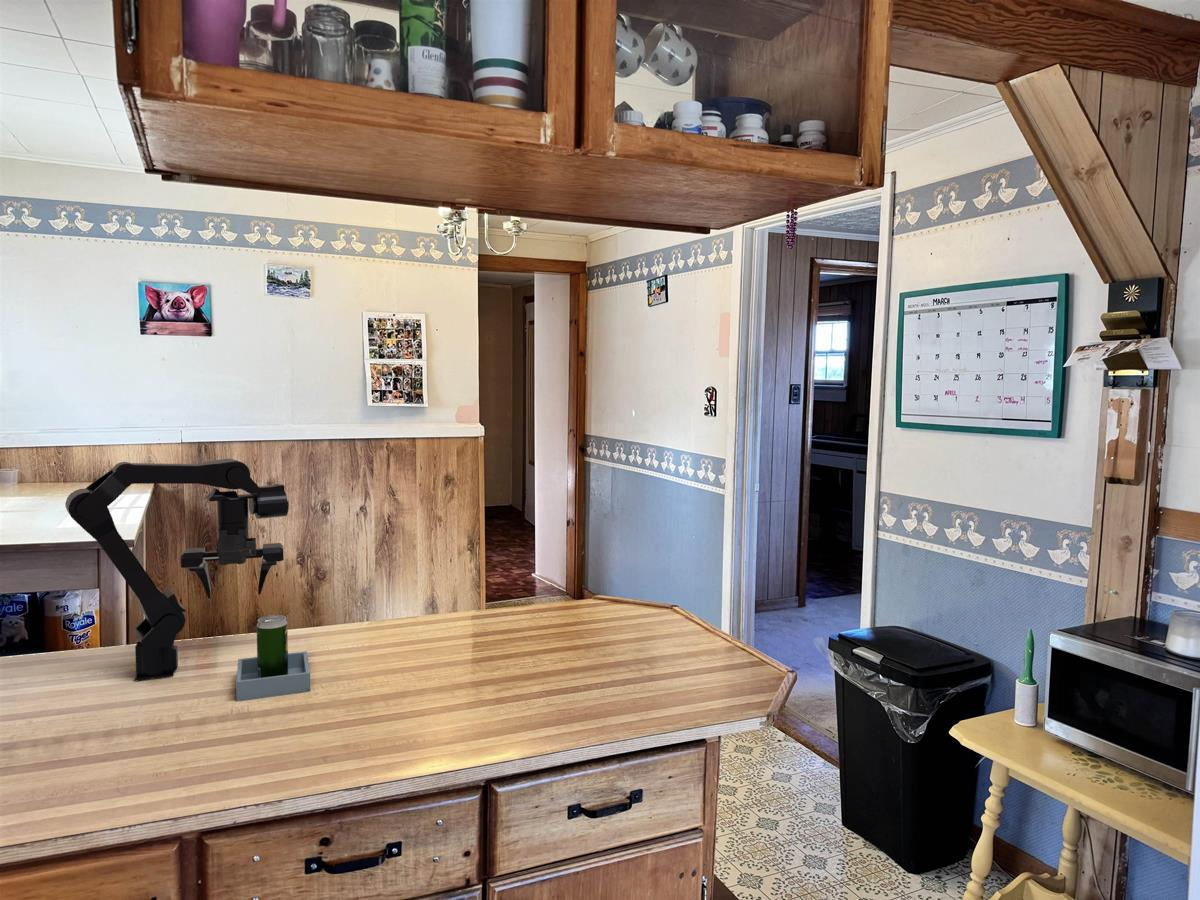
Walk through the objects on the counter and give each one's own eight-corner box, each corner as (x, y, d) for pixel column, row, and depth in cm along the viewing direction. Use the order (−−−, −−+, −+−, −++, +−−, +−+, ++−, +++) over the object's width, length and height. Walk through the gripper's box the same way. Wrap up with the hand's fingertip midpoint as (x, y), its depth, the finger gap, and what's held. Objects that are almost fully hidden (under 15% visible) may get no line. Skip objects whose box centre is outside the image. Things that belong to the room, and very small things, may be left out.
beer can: (264, 688, 143) (263, 625, 142) (253, 680, 146) (251, 618, 145) (293, 681, 146) (292, 619, 145) (281, 673, 150) (280, 612, 149)
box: (236, 701, 138) (236, 682, 138) (238, 676, 150) (238, 659, 149) (310, 691, 143) (310, 673, 143) (307, 668, 155) (306, 651, 154)
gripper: (176, 531, 146) (179, 611, 147) (283, 525, 153) (284, 602, 155) (182, 520, 156) (184, 596, 158) (282, 516, 163) (283, 588, 165)
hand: (234, 596), depth 158 cm, fingers open, 9 cm apart
